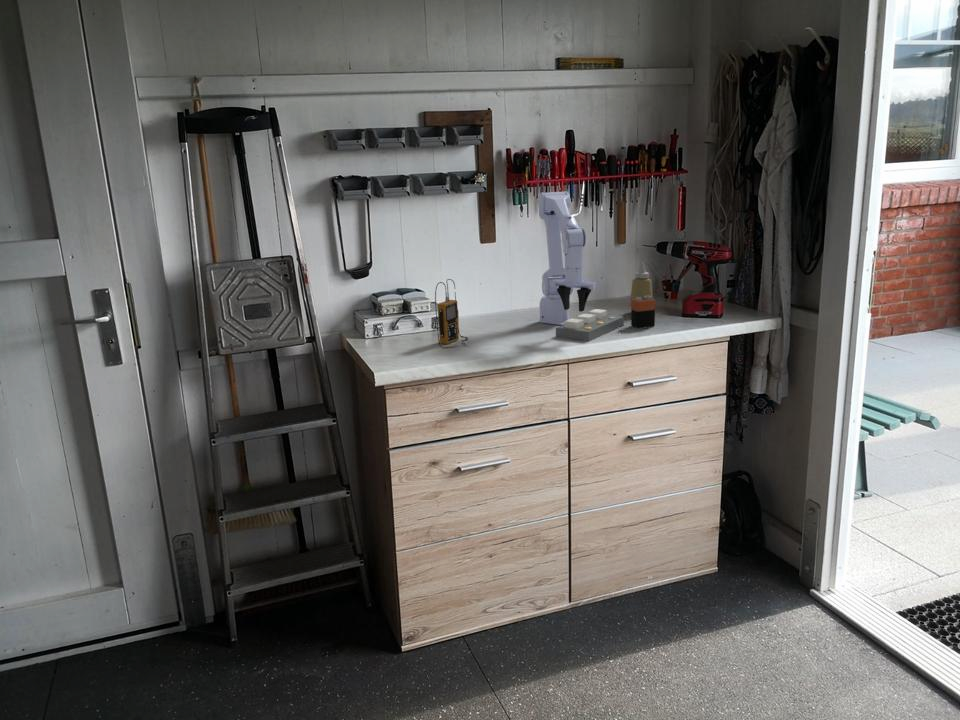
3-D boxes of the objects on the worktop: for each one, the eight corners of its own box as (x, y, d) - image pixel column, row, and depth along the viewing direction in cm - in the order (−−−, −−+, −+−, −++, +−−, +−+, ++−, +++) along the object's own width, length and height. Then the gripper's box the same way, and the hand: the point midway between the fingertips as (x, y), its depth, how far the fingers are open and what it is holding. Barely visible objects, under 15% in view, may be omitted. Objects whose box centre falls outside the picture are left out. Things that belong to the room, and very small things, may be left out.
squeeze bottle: (635, 309, 284) (636, 260, 279) (656, 311, 280) (657, 261, 275) (625, 313, 278) (626, 263, 273) (647, 316, 273) (648, 265, 269)
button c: (589, 320, 262) (589, 311, 261) (595, 317, 266) (595, 308, 265) (600, 321, 260) (600, 312, 259) (607, 318, 263) (607, 310, 262)
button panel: (555, 336, 250) (555, 327, 249) (591, 321, 269) (591, 312, 268) (588, 341, 243) (588, 331, 243) (623, 325, 262) (623, 315, 261)
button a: (564, 330, 250) (564, 321, 249) (571, 327, 253) (571, 318, 252) (576, 331, 247) (576, 322, 246) (583, 329, 251) (583, 319, 250)
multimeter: (459, 350, 239) (456, 285, 234) (432, 347, 244) (429, 283, 239) (484, 339, 251) (482, 277, 245) (458, 336, 256) (455, 276, 251)
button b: (577, 325, 256) (577, 316, 255) (583, 322, 259) (583, 313, 259) (589, 326, 253) (589, 317, 253) (595, 323, 257) (595, 314, 256)
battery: (655, 326, 259) (655, 296, 256) (636, 328, 257) (637, 298, 254) (648, 323, 263) (649, 294, 260) (630, 325, 261) (630, 296, 258)
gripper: (547, 268, 246) (548, 310, 250) (588, 271, 238) (588, 314, 241) (558, 264, 251) (559, 306, 255) (599, 267, 243) (599, 310, 247)
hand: (574, 310), depth 248 cm, fingers open, 5 cm apart
